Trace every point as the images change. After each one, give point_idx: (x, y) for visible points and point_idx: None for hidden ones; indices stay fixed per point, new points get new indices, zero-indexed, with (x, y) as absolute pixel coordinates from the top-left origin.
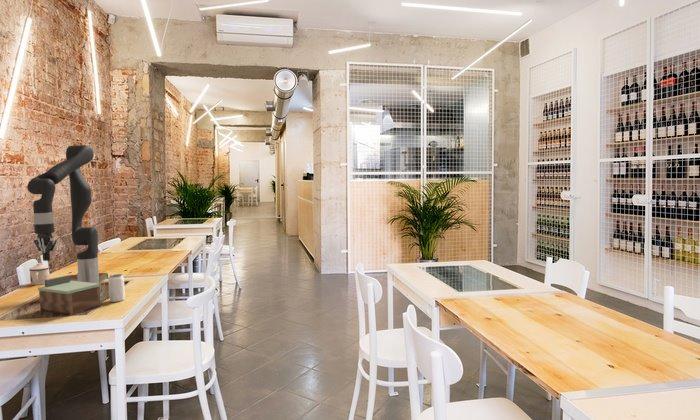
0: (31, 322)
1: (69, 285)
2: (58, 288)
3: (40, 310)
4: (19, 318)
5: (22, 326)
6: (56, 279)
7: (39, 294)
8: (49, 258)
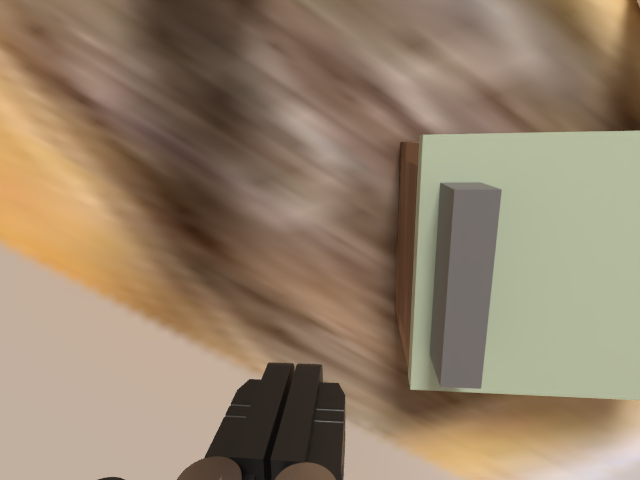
0: (546, 434)
1: (602, 271)
2: (604, 365)
3: (395, 310)
4: (425, 412)
5: (563, 476)
6: (485, 313)
7: (405, 355)
8: (342, 396)
